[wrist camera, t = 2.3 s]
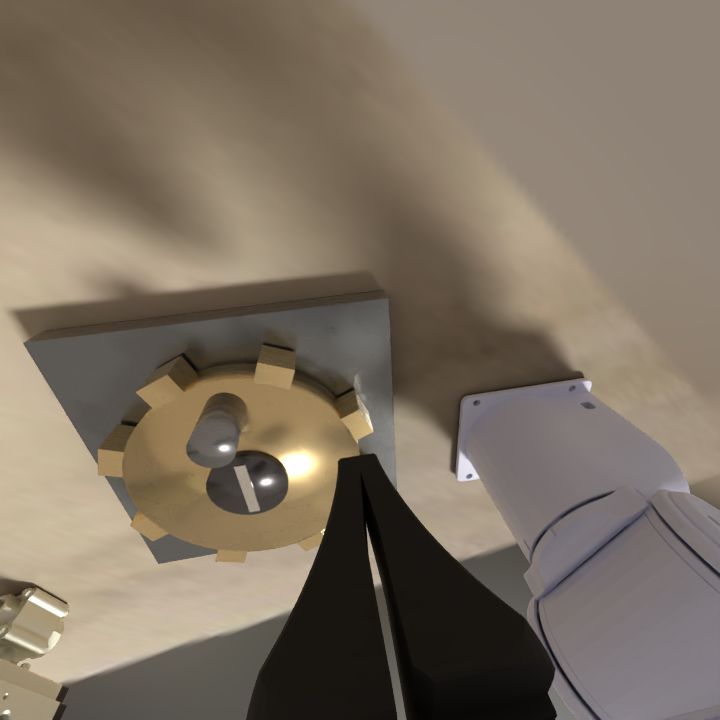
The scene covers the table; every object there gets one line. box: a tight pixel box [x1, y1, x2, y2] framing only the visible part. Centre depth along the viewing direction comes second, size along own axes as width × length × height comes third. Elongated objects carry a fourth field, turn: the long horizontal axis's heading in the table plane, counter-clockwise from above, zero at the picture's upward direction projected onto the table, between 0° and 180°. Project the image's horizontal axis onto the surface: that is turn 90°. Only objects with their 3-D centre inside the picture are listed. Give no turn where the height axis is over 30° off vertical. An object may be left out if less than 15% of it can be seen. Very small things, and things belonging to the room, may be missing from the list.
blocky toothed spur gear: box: [98, 345, 374, 563], centre depth 19 cm, size 15×15×5 cm
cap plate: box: [23, 290, 397, 564], centre depth 22 cm, size 18×18×2 cm
